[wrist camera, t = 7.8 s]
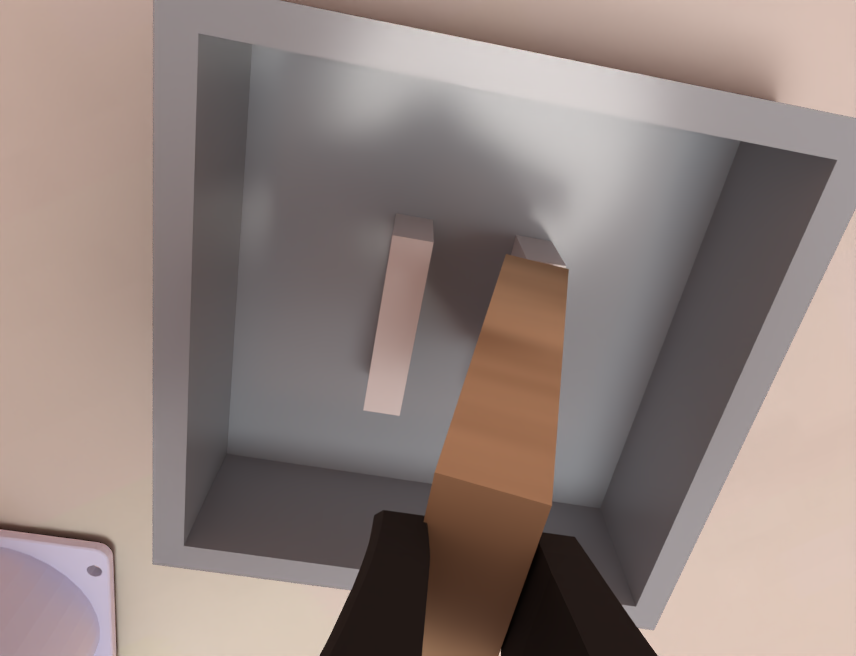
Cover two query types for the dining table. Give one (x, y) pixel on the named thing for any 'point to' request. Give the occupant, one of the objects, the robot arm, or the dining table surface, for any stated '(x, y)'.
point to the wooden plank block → (496, 464)
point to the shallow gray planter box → (457, 280)
